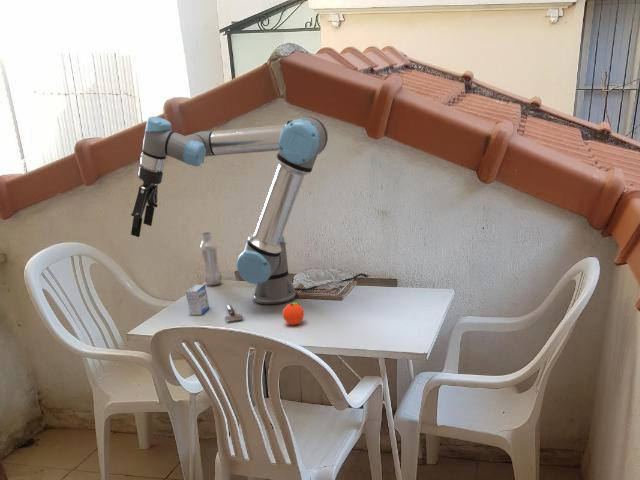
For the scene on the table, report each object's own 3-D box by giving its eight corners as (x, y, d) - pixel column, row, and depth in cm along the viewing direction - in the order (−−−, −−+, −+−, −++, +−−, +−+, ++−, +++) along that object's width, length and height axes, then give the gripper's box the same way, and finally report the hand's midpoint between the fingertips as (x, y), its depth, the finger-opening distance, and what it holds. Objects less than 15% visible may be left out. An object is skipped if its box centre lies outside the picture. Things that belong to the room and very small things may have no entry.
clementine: (293, 318, 233) (291, 298, 229) (310, 320, 230) (308, 300, 226) (279, 326, 227) (277, 305, 224) (297, 328, 224) (295, 307, 220)
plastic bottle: (204, 287, 275) (195, 235, 265) (209, 282, 281) (201, 231, 271) (219, 286, 274) (211, 235, 264) (224, 281, 279) (216, 231, 270)
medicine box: (201, 315, 244) (197, 291, 239) (189, 315, 245) (185, 291, 240) (209, 308, 250) (205, 284, 246) (198, 308, 251) (193, 284, 247)
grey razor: (222, 309, 248) (222, 305, 247) (236, 307, 249) (235, 303, 248) (228, 323, 234) (227, 318, 233) (242, 320, 235) (241, 316, 234)
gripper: (151, 156, 237) (141, 216, 248) (128, 172, 216) (118, 236, 227) (173, 164, 237) (162, 223, 249) (151, 180, 217) (140, 244, 228)
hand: (141, 230), depth 238 cm, fingers open, 13 cm apart
